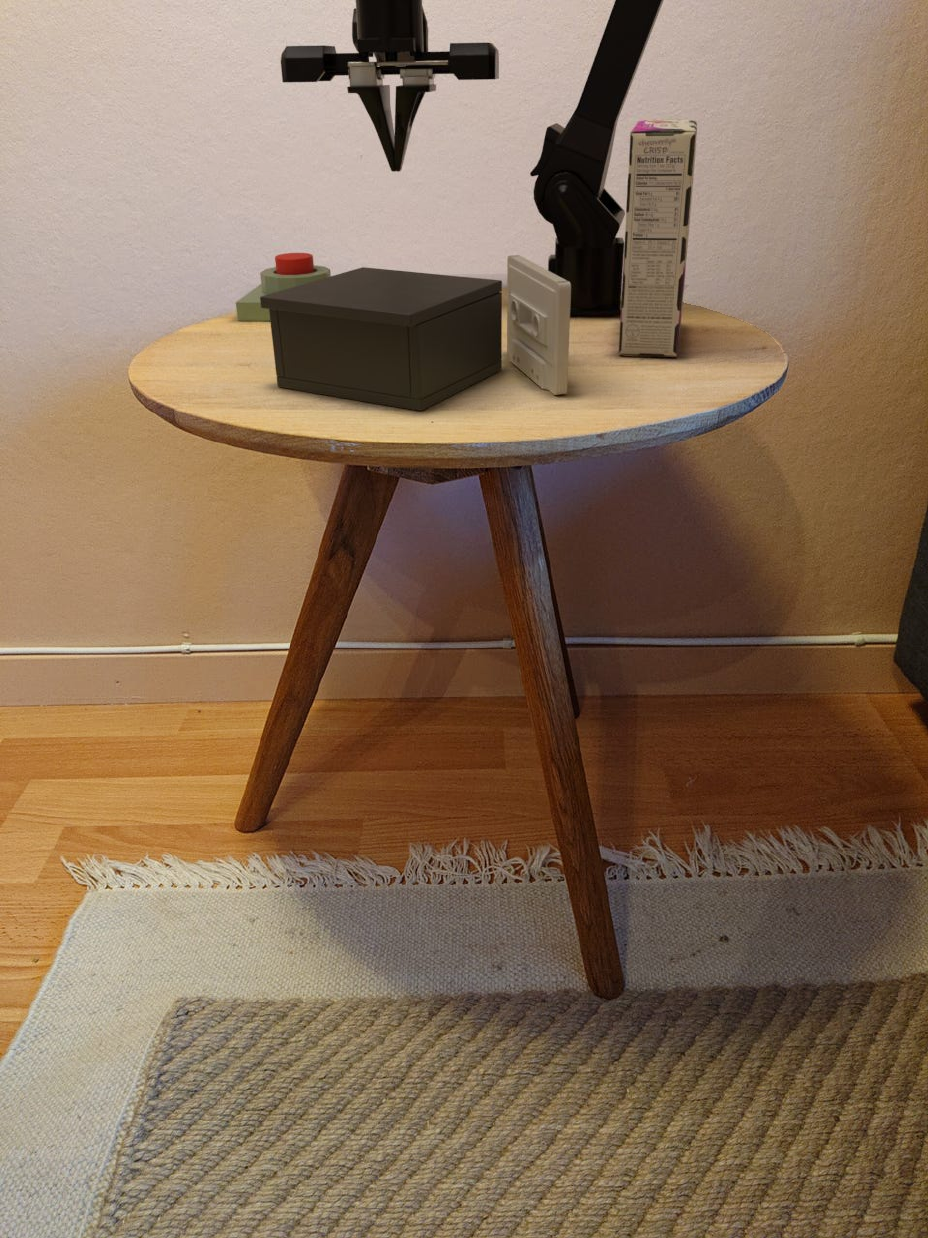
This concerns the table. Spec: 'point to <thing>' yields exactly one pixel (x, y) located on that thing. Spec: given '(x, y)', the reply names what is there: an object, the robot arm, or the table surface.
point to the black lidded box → (389, 354)
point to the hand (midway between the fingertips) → (396, 170)
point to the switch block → (273, 291)
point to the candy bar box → (656, 236)
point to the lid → (382, 295)
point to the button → (294, 263)
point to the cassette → (538, 323)
